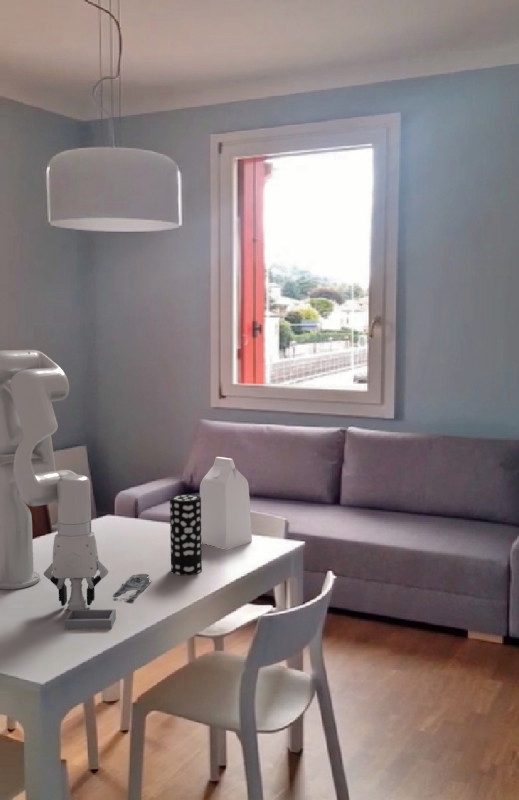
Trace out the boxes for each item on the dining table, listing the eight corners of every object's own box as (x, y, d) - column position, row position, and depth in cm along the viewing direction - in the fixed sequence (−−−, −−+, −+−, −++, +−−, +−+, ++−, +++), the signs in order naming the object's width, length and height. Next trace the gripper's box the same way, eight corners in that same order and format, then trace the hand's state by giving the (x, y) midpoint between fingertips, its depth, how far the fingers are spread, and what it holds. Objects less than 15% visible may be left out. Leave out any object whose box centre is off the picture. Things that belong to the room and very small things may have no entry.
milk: (252, 541, 248) (251, 457, 245) (226, 549, 239) (225, 462, 237) (223, 534, 256) (222, 453, 253) (197, 542, 247) (196, 458, 244)
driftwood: (134, 576, 216) (134, 569, 216) (158, 577, 215) (158, 570, 215) (106, 604, 196) (106, 595, 196) (133, 605, 195) (133, 597, 194)
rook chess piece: (67, 605, 192) (66, 573, 192) (86, 604, 193) (85, 571, 193) (67, 612, 188) (66, 578, 187) (86, 610, 189) (86, 577, 188)
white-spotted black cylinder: (182, 564, 225) (181, 493, 223) (207, 568, 221) (206, 496, 219) (164, 572, 218) (163, 499, 216) (190, 577, 214) (189, 502, 212)
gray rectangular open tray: (64, 629, 177) (64, 620, 177) (70, 618, 184) (70, 609, 184) (111, 628, 178) (111, 620, 178) (115, 617, 184) (115, 609, 184)
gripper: (33, 532, 185) (36, 609, 187) (109, 532, 185) (110, 608, 187) (41, 524, 192) (44, 598, 194) (114, 523, 193) (115, 597, 195)
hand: (76, 602), depth 191 cm, fingers open, 5 cm apart
